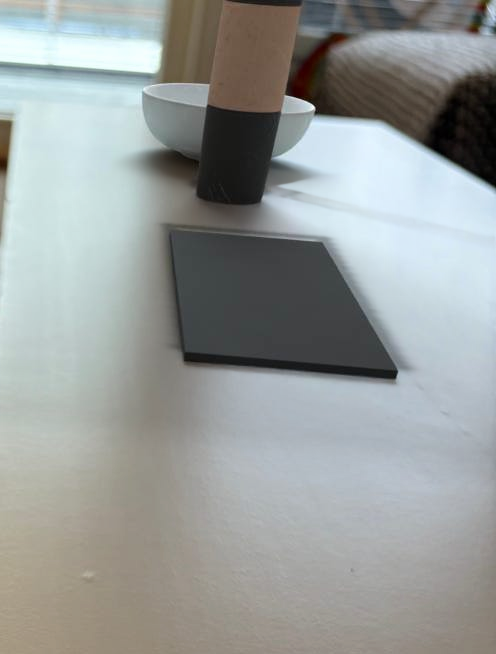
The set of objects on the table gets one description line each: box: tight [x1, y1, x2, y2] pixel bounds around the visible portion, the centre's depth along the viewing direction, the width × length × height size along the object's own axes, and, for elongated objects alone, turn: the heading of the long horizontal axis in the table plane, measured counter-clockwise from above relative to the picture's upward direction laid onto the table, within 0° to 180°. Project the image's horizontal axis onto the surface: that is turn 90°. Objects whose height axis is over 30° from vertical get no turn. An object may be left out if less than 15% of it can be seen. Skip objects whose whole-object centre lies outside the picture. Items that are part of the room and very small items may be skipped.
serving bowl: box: [141, 82, 316, 162], centre depth 120 cm, size 21×21×7 cm
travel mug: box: [195, 0, 303, 205], centre depth 99 cm, size 8×8×20 cm
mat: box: [168, 229, 399, 380], centre depth 77 cm, size 32×14×1 cm, turn 174°
